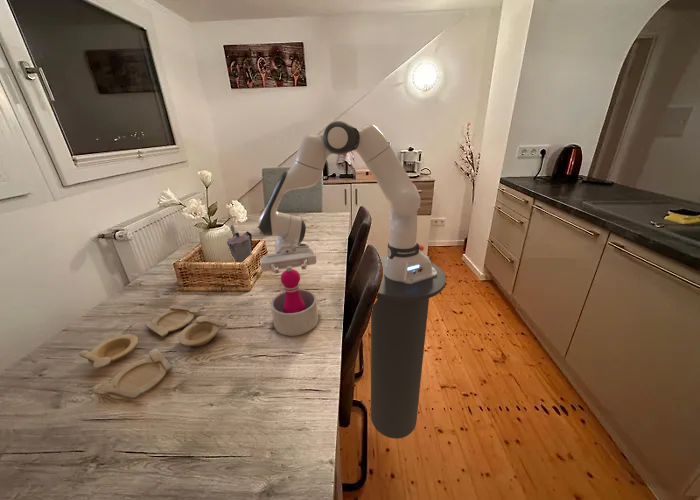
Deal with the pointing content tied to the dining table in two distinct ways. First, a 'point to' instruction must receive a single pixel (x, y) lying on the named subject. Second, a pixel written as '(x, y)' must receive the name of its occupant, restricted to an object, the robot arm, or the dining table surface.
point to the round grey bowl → (295, 314)
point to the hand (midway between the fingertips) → (290, 269)
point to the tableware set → (154, 368)
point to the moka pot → (240, 246)
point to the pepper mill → (292, 291)
